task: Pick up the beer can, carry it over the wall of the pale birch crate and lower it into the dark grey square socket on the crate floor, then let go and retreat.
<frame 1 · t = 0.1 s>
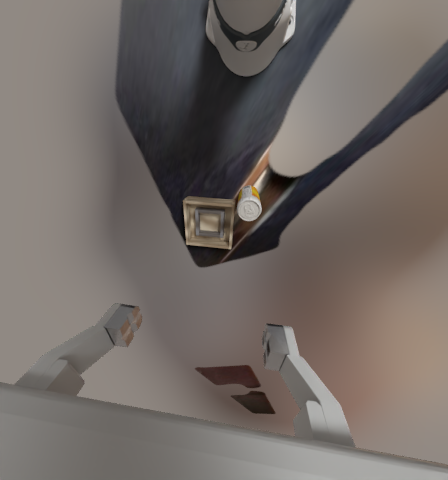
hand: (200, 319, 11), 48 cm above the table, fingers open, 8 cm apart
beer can: (248, 194, 54), on the table
crate: (211, 220, 60), on the table
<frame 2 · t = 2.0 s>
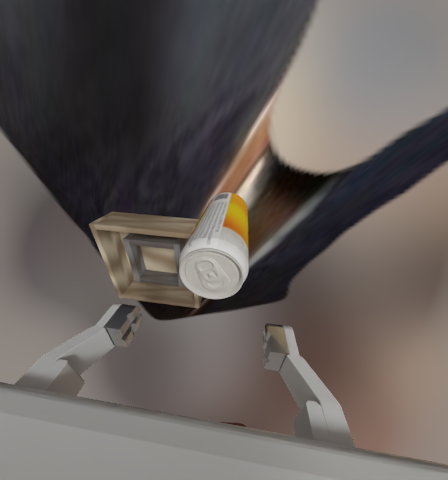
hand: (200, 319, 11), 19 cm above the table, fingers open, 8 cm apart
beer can: (228, 209, 27), on the table
crate: (163, 254, 33), on the table
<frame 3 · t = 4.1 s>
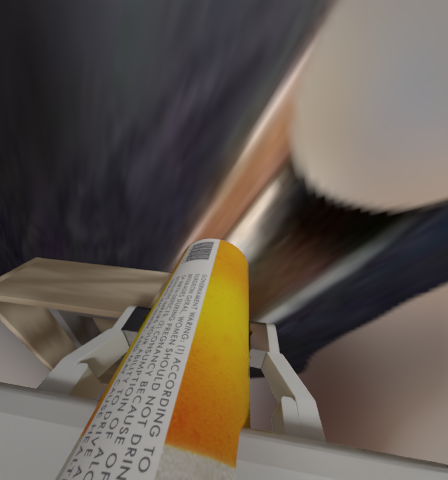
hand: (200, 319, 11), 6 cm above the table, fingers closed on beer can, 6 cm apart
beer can: (216, 261, 16), on the table, touching gripper
crate: (123, 313, 22), on the table
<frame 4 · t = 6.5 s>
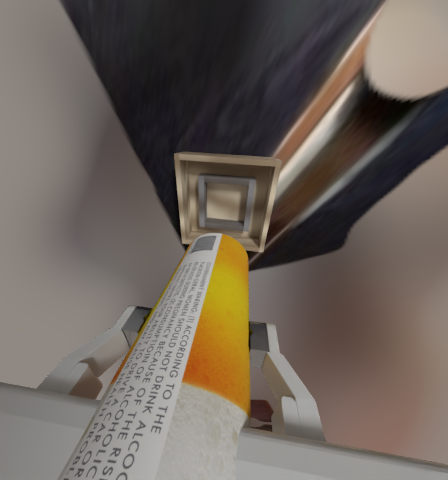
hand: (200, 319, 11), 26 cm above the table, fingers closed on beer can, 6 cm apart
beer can: (218, 254, 17), point 18 cm above the table, touching gripper
crate: (226, 200, 33), on the table
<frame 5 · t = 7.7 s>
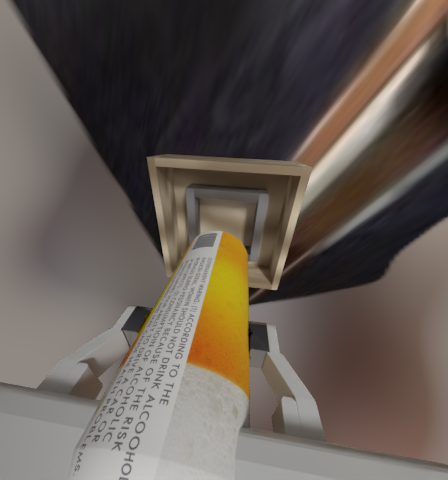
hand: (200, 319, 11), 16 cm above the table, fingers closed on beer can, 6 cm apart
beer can: (218, 252, 18), point 8 cm above the table, touching gripper
crate: (227, 218, 25), on the table
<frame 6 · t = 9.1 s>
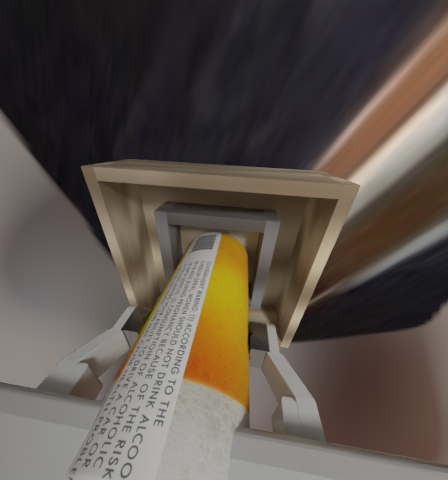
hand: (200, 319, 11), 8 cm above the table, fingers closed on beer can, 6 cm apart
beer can: (218, 253, 18), point 1 cm above the table, touching crate, gripper
crate: (219, 246, 18), on the table
when the fingers open (8 cm above the table, at t = 10.0 s): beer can stays where it is, resting on crate.
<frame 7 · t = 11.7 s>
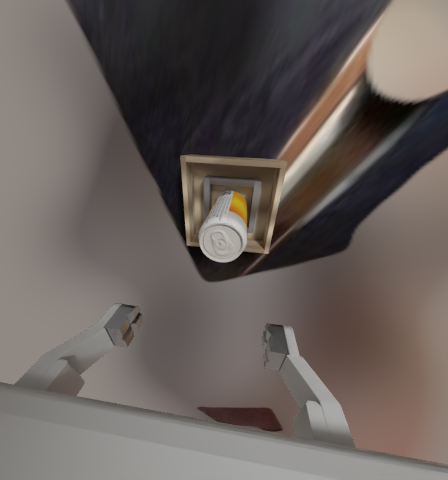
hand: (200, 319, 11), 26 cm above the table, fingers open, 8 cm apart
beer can: (231, 204, 33), point 1 cm above the table, touching crate
crate: (231, 201, 33), on the table
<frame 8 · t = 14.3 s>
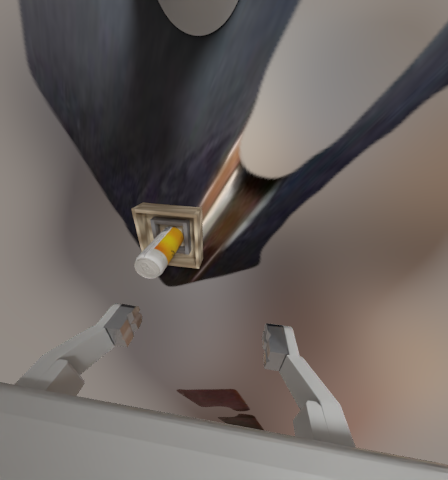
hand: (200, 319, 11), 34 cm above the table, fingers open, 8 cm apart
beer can: (174, 234, 48), point 1 cm above the table, touching crate
crate: (174, 232, 48), on the table
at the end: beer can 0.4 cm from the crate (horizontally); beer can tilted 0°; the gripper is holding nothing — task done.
